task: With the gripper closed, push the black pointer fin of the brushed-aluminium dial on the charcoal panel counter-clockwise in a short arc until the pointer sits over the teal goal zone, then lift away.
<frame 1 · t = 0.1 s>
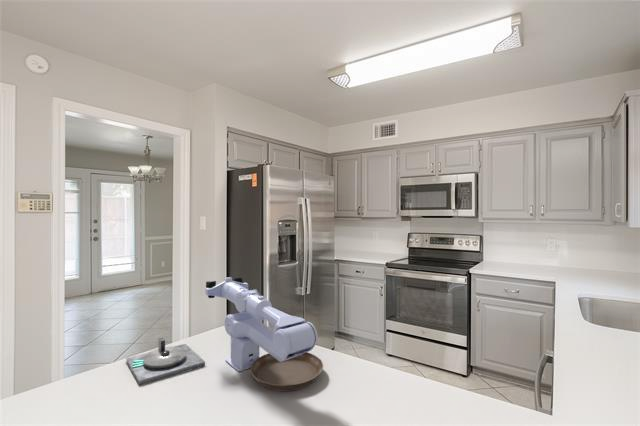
hand: (217, 282, 119), 22 cm above the table, tool horizontal, fingers open, 7 cm apart
dial: (165, 351, 103), point 4 cm above the table, hinge at 0.0°
plant saucer: (287, 377, 96), on the table
panel: (165, 363, 103), on the table
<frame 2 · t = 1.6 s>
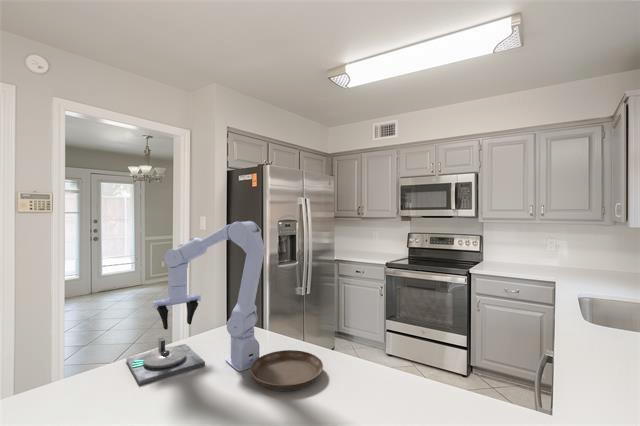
hand: (177, 326, 110), 9 cm above the table, tool pointing down, fingers open, 7 cm apart
nothing on the table moved.
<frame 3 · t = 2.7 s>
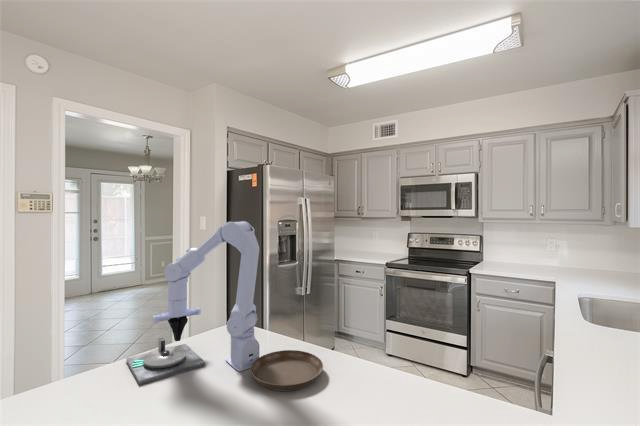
hand: (177, 340, 110), 5 cm above the table, tool pointing down, fingers closed
nothing on the table moved.
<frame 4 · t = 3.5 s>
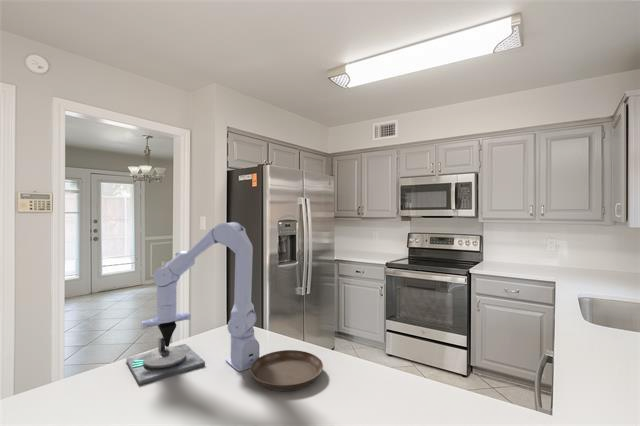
hand: (166, 345, 108), 4 cm above the table, tool pointing down, fingers closed
dial: (165, 351, 103), point 4 cm above the table, hinge at 0.0°, touching gripper
everything else where it was.
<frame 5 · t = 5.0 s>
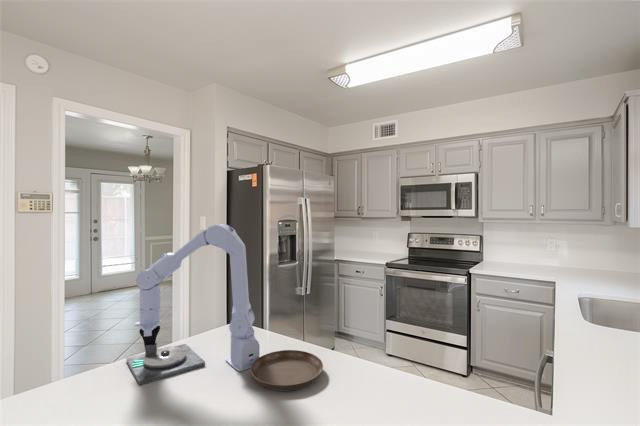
hand: (149, 351, 103), 4 cm above the table, tool pointing down, fingers closed, pressing on dial
dial: (165, 351, 103), point 4 cm above the table, hinge at 62.1°, touching gripper
everything else where it was.
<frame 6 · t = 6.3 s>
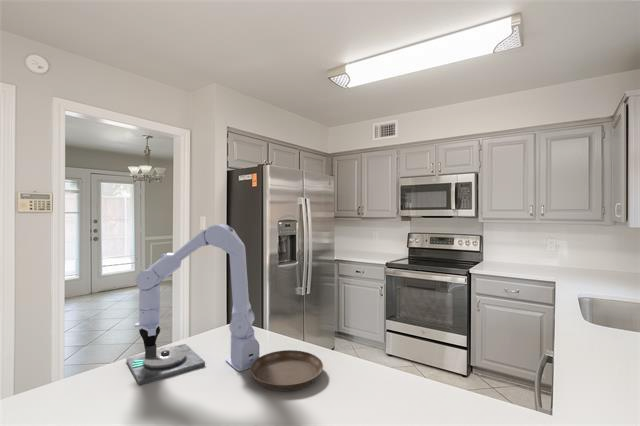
hand: (149, 351, 103), 4 cm above the table, tool pointing down, fingers closed
dial: (165, 351, 103), point 4 cm above the table, hinge at 78.8°
everything else where it was.
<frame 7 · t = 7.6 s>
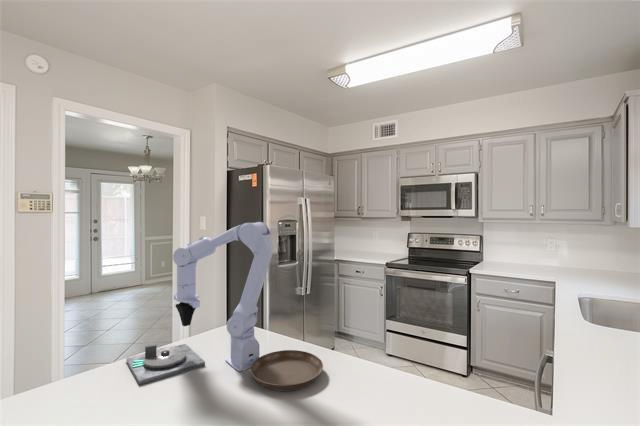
hand: (186, 325, 109), 10 cm above the table, tool pointing down, fingers closed
nothing on the table moved.
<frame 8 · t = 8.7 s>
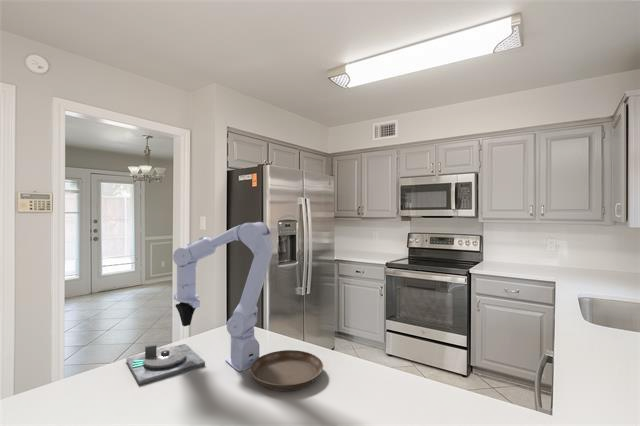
hand: (186, 325, 109), 10 cm above the table, tool pointing down, fingers closed
nothing on the table moved.
at the end: dial at +79° (first picture: +0°) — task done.
